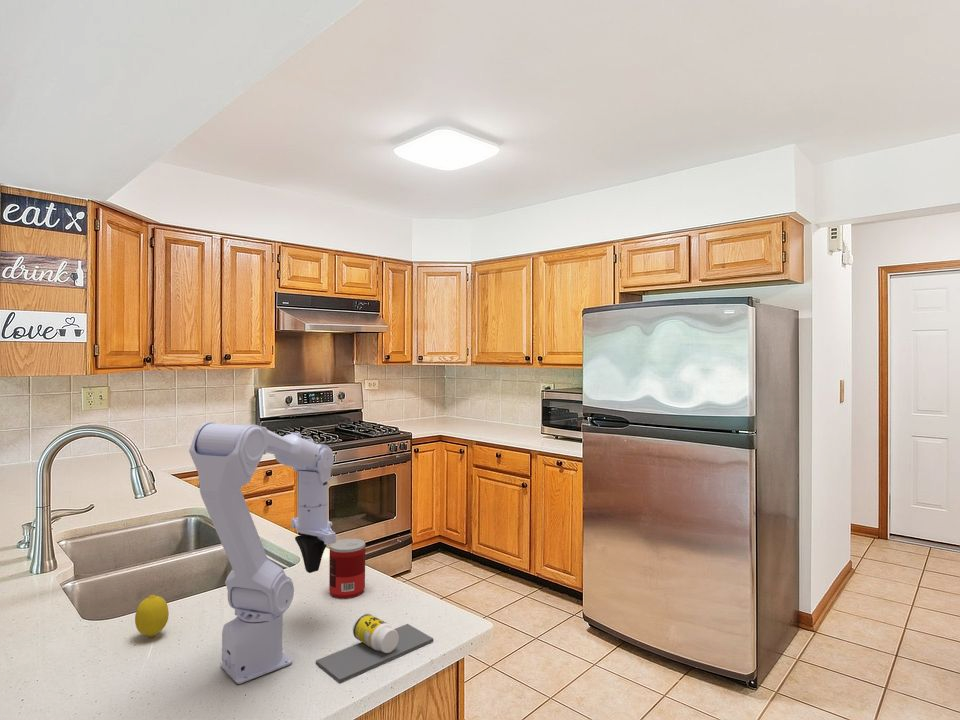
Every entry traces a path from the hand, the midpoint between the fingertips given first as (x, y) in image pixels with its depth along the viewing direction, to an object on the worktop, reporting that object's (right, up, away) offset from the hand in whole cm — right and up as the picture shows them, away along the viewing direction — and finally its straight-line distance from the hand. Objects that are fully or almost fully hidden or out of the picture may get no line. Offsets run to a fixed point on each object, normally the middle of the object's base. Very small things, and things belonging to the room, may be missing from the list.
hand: (312, 570), depth 116 cm
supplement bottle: (+11, -8, -7) cm, 15 cm away
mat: (+15, -11, -11) cm, 21 cm away
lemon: (-28, -10, -7) cm, 31 cm away
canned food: (+4, -10, +15) cm, 19 cm away
